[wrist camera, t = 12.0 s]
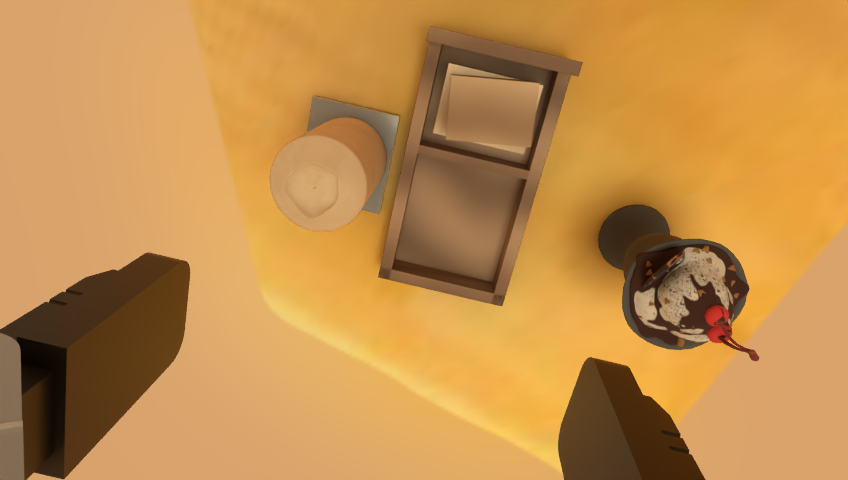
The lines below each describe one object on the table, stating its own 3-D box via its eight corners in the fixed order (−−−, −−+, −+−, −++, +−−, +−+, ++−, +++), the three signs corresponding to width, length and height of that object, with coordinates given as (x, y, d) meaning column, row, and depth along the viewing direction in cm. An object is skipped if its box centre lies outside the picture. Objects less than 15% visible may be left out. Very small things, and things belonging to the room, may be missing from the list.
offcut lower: (449, 61, 38) (448, 62, 36) (538, 82, 38) (543, 85, 36) (434, 127, 40) (432, 132, 37) (520, 148, 40) (523, 154, 37)
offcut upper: (452, 73, 36) (451, 75, 34) (536, 81, 36) (539, 83, 34) (446, 135, 37) (445, 139, 36) (527, 142, 37) (530, 147, 35)
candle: (382, 201, 41) (355, 248, 32) (305, 187, 41) (257, 230, 32) (393, 123, 39) (368, 149, 30) (313, 109, 39) (264, 130, 30)
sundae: (680, 278, 42) (788, 397, 28) (585, 282, 43) (645, 400, 29) (686, 190, 40) (806, 269, 26) (587, 195, 41) (651, 275, 27)
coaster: (315, 95, 40) (312, 96, 39) (400, 115, 40) (399, 116, 39) (299, 192, 42) (297, 194, 41) (380, 211, 42) (379, 213, 42)
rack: (434, 28, 38) (429, 25, 33) (568, 60, 38) (582, 62, 33) (383, 264, 43) (372, 291, 39) (500, 292, 43) (504, 322, 39)
